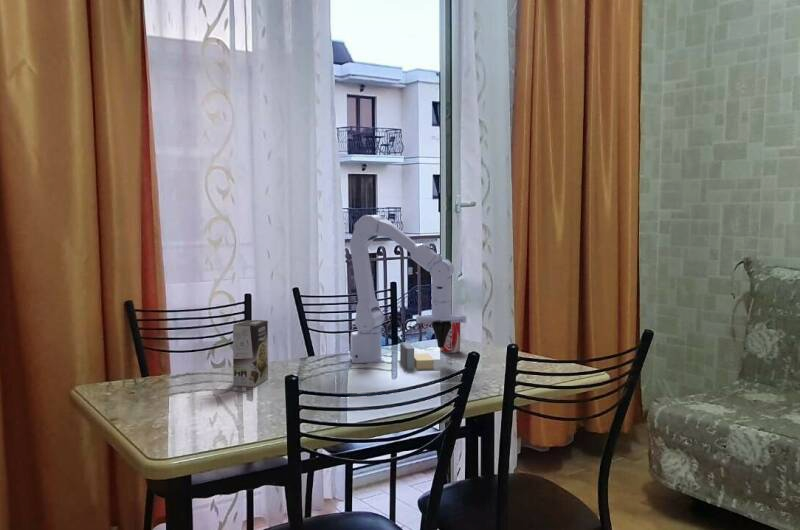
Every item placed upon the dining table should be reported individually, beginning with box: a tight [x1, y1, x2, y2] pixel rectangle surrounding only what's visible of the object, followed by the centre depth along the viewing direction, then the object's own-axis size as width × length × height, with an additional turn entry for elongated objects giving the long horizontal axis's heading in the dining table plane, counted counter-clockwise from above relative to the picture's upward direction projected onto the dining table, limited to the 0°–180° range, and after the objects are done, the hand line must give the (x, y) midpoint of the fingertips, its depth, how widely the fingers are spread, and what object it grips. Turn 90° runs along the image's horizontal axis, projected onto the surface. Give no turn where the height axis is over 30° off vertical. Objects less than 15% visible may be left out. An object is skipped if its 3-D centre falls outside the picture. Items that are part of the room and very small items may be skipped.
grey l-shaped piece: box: [397, 341, 453, 373], centre depth 203 cm, size 14×14×6 cm
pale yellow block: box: [414, 353, 434, 369], centre depth 203 cm, size 5×9×2 cm, turn 9°
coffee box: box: [232, 319, 269, 388], centre depth 183 cm, size 9×6×16 cm
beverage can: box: [440, 320, 461, 354], centre depth 222 cm, size 6×6×12 cm
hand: (440, 347), depth 204 cm, fingers closed
